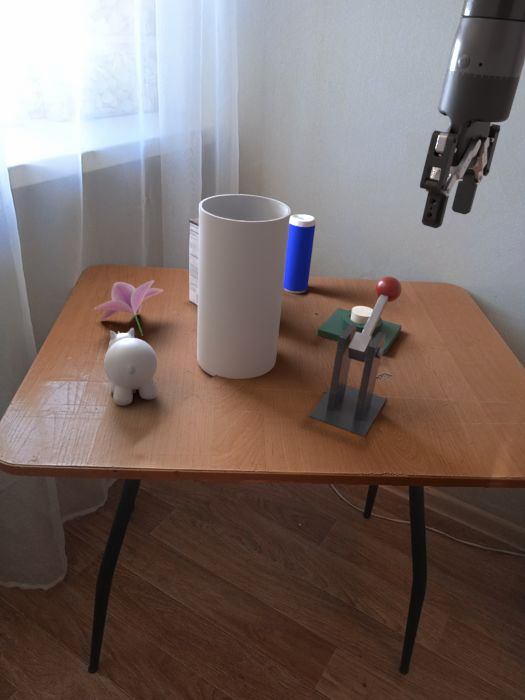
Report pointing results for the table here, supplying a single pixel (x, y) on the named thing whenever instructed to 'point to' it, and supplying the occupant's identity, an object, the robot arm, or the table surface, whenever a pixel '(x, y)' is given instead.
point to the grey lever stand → (352, 388)
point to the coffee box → (193, 259)
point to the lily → (127, 299)
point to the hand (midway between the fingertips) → (446, 219)
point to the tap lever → (374, 317)
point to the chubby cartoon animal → (130, 367)
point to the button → (360, 314)
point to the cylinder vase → (240, 283)
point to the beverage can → (299, 253)
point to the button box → (342, 321)
